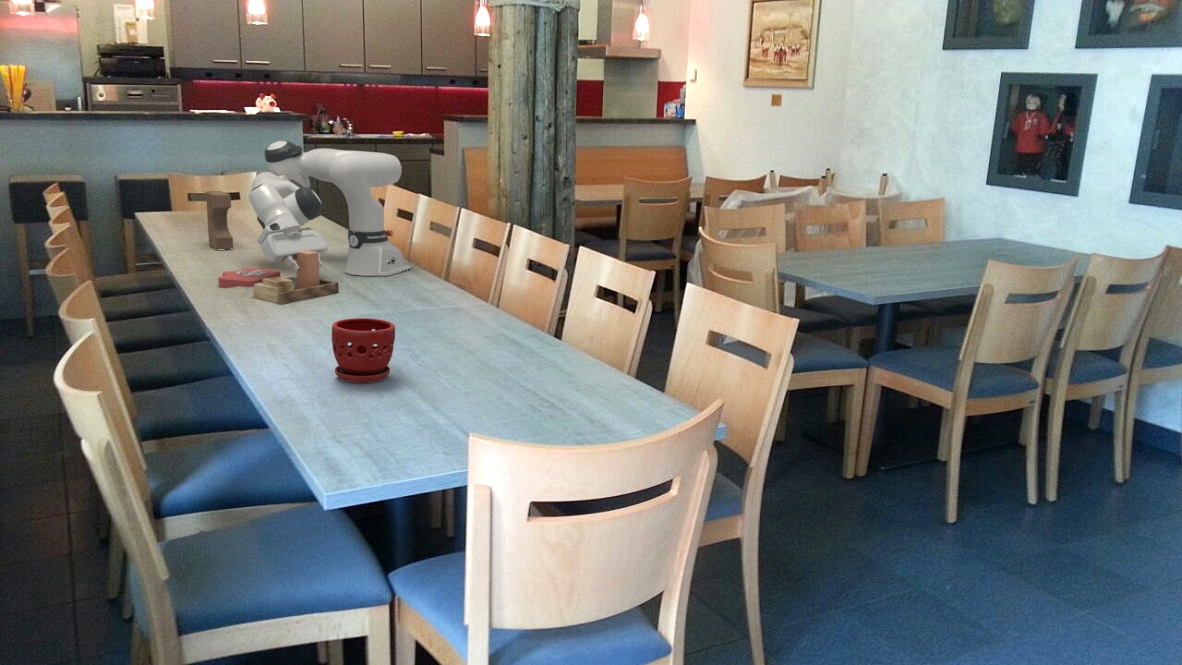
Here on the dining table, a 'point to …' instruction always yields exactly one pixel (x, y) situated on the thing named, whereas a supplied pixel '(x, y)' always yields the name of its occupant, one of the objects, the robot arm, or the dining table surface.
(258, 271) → the plaque
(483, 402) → the dining table surface
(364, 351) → the plant pot
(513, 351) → the dining table surface
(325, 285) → the brown wooden tray
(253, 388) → the dining table surface
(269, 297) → the offcut stack
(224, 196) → the decorative block
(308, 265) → the salmon orange upright block
